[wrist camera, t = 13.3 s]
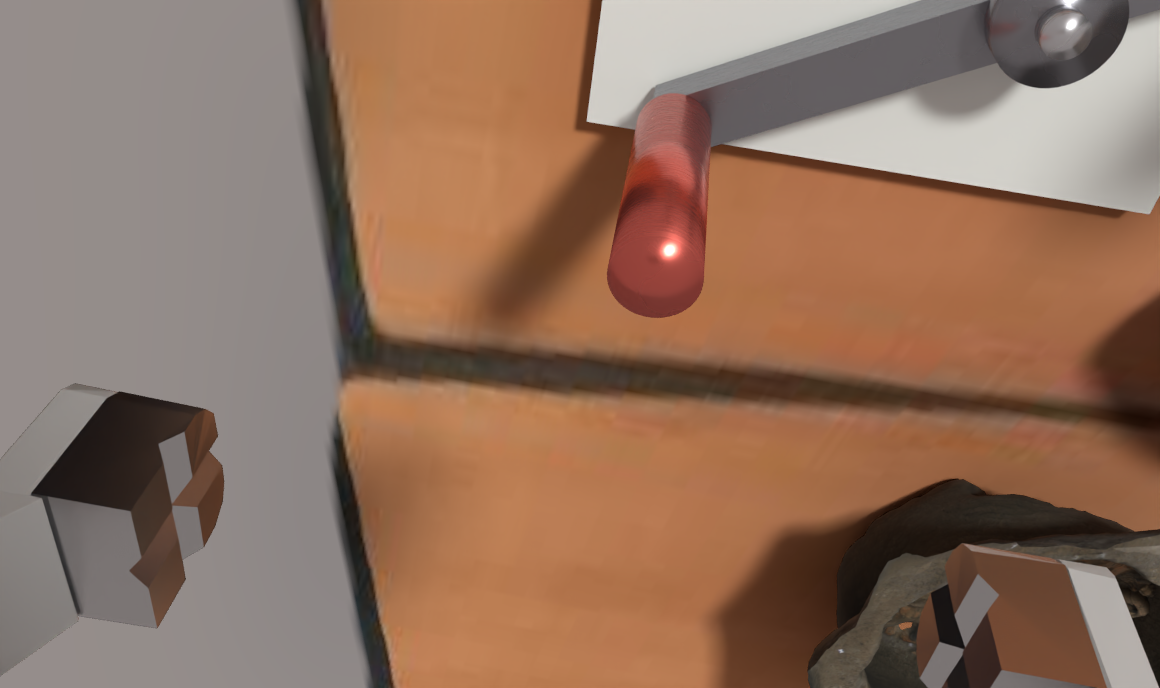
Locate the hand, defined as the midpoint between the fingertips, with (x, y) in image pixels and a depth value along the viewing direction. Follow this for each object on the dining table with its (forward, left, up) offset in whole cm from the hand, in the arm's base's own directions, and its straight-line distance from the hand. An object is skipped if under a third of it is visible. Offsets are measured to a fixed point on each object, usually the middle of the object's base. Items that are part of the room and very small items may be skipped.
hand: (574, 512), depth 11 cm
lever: (+10, +3, -32) cm, 33 cm away
